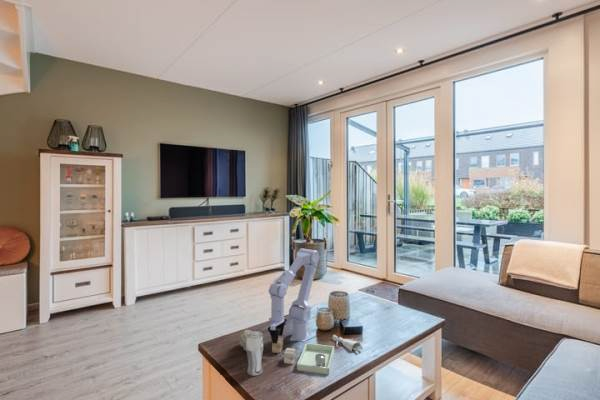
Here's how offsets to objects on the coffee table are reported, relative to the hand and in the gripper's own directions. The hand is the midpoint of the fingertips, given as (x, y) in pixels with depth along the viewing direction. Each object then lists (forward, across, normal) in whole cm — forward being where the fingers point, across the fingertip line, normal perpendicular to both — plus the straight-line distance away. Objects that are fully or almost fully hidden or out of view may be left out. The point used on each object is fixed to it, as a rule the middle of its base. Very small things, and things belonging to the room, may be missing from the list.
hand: (277, 339), depth 142 cm
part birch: (+5, +8, +8) cm, 13 cm away
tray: (+5, +5, +19) cm, 20 cm away
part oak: (+5, 0, 0) cm, 5 cm away
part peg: (+5, +10, +22) cm, 24 cm away
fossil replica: (+6, +1, -13) cm, 14 cm away
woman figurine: (+6, -12, +30) cm, 33 cm away
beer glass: (+6, +18, -4) cm, 19 cm away
